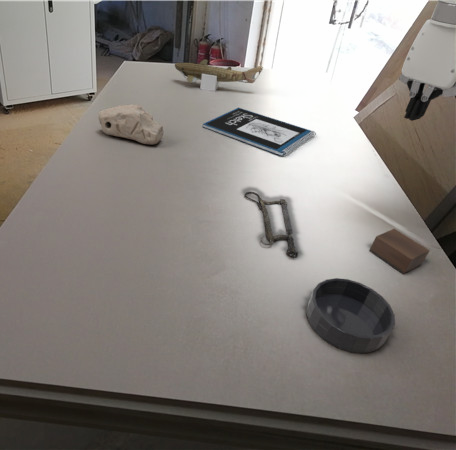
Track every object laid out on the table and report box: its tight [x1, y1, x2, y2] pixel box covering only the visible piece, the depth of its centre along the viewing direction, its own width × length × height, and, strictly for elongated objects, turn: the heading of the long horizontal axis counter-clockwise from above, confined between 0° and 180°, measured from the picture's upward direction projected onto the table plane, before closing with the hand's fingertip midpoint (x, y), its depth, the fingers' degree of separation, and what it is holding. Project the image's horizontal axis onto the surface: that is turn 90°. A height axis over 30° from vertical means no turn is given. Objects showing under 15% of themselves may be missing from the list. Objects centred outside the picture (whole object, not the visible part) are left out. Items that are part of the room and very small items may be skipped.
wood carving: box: [174, 59, 264, 92], centre depth 161 cm, size 9×35×11 cm, turn 70°
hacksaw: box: [244, 191, 299, 258], centre depth 92 cm, size 24×10×2 cm, turn 172°
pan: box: [306, 277, 396, 354], centre depth 69 cm, size 13×13×4 cm
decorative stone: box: [98, 103, 165, 145], centre depth 122 cm, size 20×8×10 cm, turn 67°
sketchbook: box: [202, 107, 317, 158], centre depth 132 cm, size 22×30×2 cm
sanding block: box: [369, 228, 431, 275], centre depth 83 cm, size 6×8×4 cm
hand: (412, 118), depth 80 cm, fingers closed
